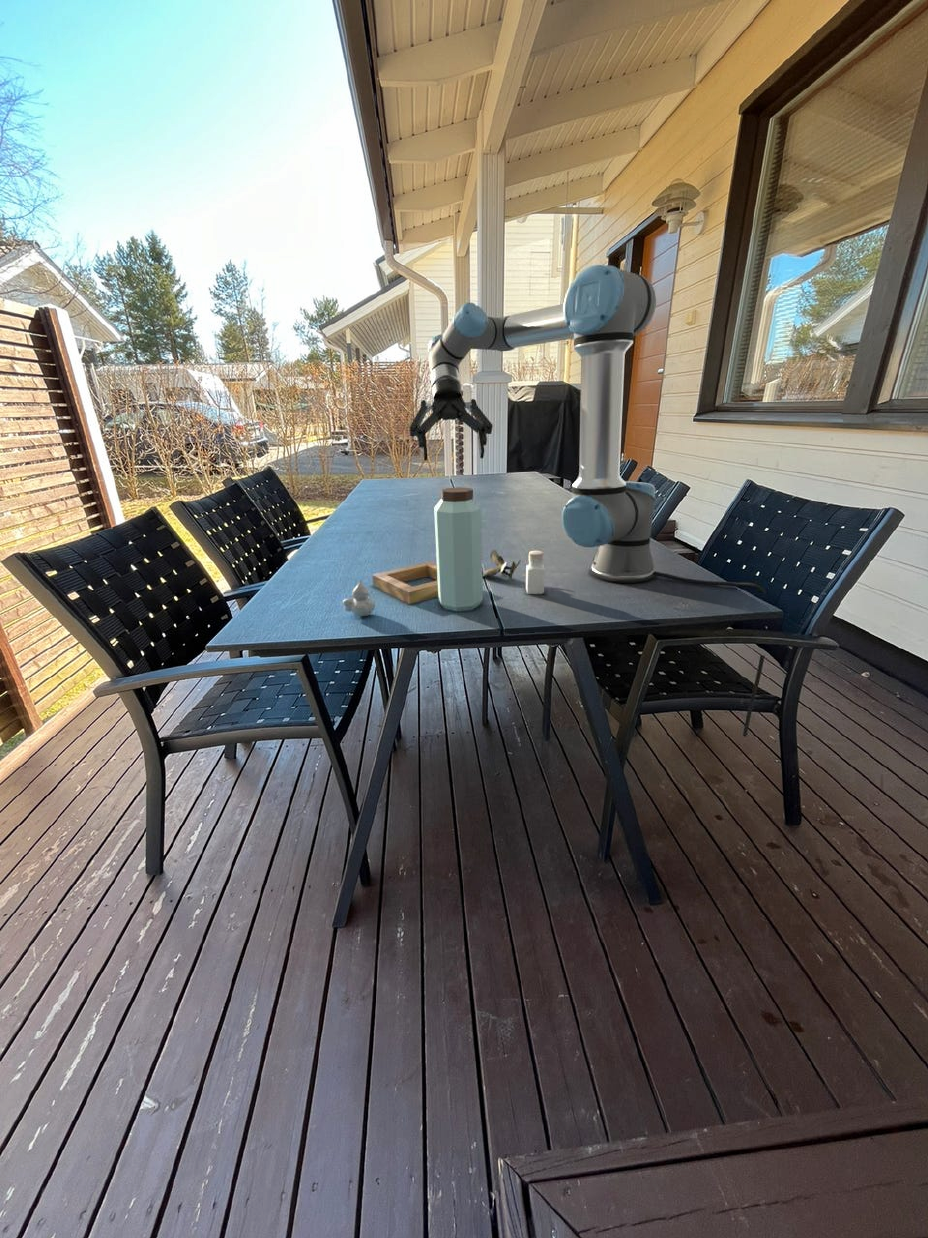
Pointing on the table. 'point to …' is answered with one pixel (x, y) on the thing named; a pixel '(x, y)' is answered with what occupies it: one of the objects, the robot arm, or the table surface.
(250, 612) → the table surface
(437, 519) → the water bottle
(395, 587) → the frame
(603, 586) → the table surface
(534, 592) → the pepper shaker
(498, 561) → the eagle figurine
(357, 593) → the white rounded figurine
